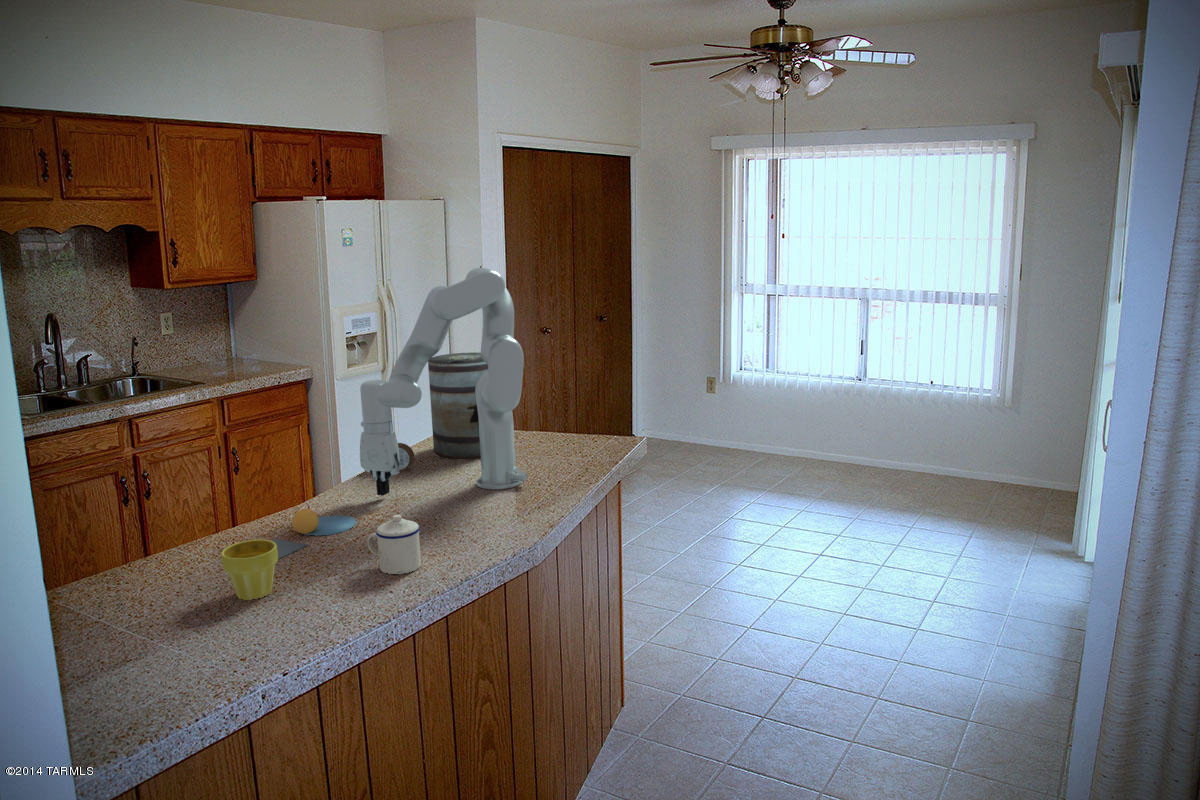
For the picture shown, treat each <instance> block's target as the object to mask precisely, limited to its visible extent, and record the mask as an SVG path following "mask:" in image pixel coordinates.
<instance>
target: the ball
mask: <svg viewBox="0 0 1200 800" xmlns="http://www.w3.org/2000/svg"><path fill="white" fill-rule="evenodd" d="M318 517H319V516H318V514H317V513H316V512H315V511H314V510H313V509H310V508H302V509H299V510H298V511H296V512H295V513H294V515H293V517H292V519H291V521H292V522H291V525H292V527H293V529H294V530H295V531H296V532H298V533H299V534H300V533H301V535H303V534H308V533H311V532H313V531H314V530H315V529H316V528H317V526H318V522H319V520H318Z"/></svg>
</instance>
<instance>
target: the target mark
mask: <svg viewBox="0 0 1200 800" xmlns="http://www.w3.org/2000/svg"><path fill="white" fill-rule="evenodd" d="M318 520H319V522H318V526H317V528H316V529H315V530H314V531H313V532H311V533H308V534H304V535H303V536H308V535H315V536H314V537H322V536H321V535H326V536H332V535H333V536H334V535H336V534H341V533H344V532H347V531H349V530H351V529H353V528H354V527H356V525H357V520H356V519H355V518H354V517H352V516H348V515H325V516H318ZM355 524H356V525H355ZM352 527H353V528H352ZM350 528H351V529H350ZM340 532H341V533H340ZM318 535H319V536H318Z"/></svg>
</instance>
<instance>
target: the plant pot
mask: <svg viewBox="0 0 1200 800" xmlns="http://www.w3.org/2000/svg"><path fill="white" fill-rule="evenodd" d="M278 562H279V560H278V552H277V545H276V543H275V542H273V541H272V540H269V539H258V538H257V539H249V540H244V541H239V542H236V543H233V544H231V545H228V546H227V547H226V548H224V549H223V550H221V564H222V568H223V570H224V571H225V573H226V572H227V574H228V576H229V577H228V578H229V579H230V582H231V584H232V587H233V590H234V592H235V595H236V598H237V597H238V599H239V600H241V599H243V600H242V601H246V600H247V601H253V600H252V599H256V600H259V599H258V598H260V599H262V597H263V598H265V597H267V596H268V594H269V595H270V594H271V593H272V592H273V591H272V590H273V583H274V575H275V565H276V564H277V563H278ZM264 596H265V597H264ZM250 599H251V600H250Z"/></svg>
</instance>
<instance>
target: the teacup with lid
mask: <svg viewBox="0 0 1200 800" xmlns="http://www.w3.org/2000/svg"><path fill="white" fill-rule="evenodd" d="M373 538H377V548H378V549H377V548H375V546H374V544H373V543H374V542H373ZM366 541H367V547H368V549H369V550H370V552H371V553H372V554H373V555H374V556H378V559H379V560H378V561H379V570H380V571H381V572H382V573H383V574H386V573H388V574H387V575H391V574H399V575H404V573H406V574H410V573H412V571H413V572H415V571H417V570H418V569H419V568H420V567H421V566H422V565H421V564H422V561H421V559H422V558H421V549H420V547H421V546H420V526H419V524H418V522H415V521H413V520H408V519H405V518H403V517H402V515H400V514H394V515H393V516H391V519H390V520H388V521H387V522H384V523H382V524H380V525H379V526H378V527H377V528H376V531H375V532H373V533H371V534H369V536H368V537H367V539H366ZM409 572H410V573H409Z"/></svg>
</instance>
